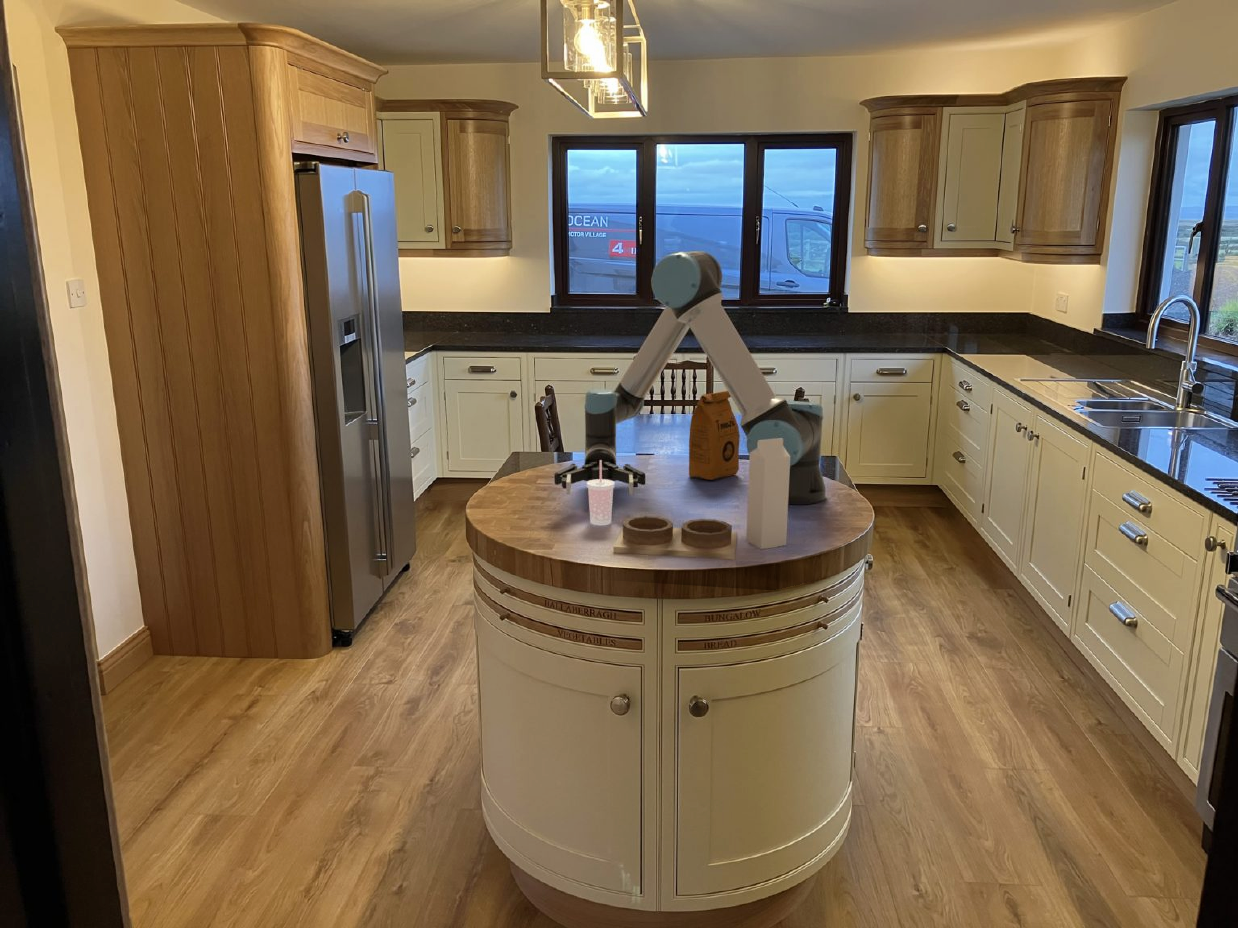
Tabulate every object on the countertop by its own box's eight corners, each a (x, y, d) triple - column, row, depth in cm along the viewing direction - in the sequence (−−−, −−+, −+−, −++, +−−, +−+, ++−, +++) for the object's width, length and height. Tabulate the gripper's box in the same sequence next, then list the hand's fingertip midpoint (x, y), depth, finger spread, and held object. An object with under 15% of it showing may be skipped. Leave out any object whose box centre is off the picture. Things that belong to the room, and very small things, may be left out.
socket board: (737, 536, 206) (737, 517, 204) (734, 559, 192) (734, 539, 191) (624, 530, 209) (624, 511, 208) (613, 552, 196) (613, 532, 195)
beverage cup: (604, 528, 211) (604, 465, 207) (581, 523, 214) (580, 461, 210) (619, 520, 216) (620, 459, 212) (596, 516, 219) (596, 455, 215)
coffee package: (744, 476, 253) (747, 392, 247) (710, 484, 245) (713, 397, 240) (716, 468, 260) (719, 386, 255) (683, 476, 252) (684, 392, 247)
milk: (786, 546, 200) (792, 441, 195) (760, 549, 198) (766, 443, 192) (770, 537, 206) (775, 434, 200) (745, 540, 203) (750, 437, 198)
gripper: (653, 479, 232) (657, 505, 212) (547, 479, 232) (541, 505, 211) (653, 448, 230) (658, 471, 210) (547, 448, 230) (541, 471, 209)
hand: (599, 488), depth 210 cm, fingers open, 13 cm apart
